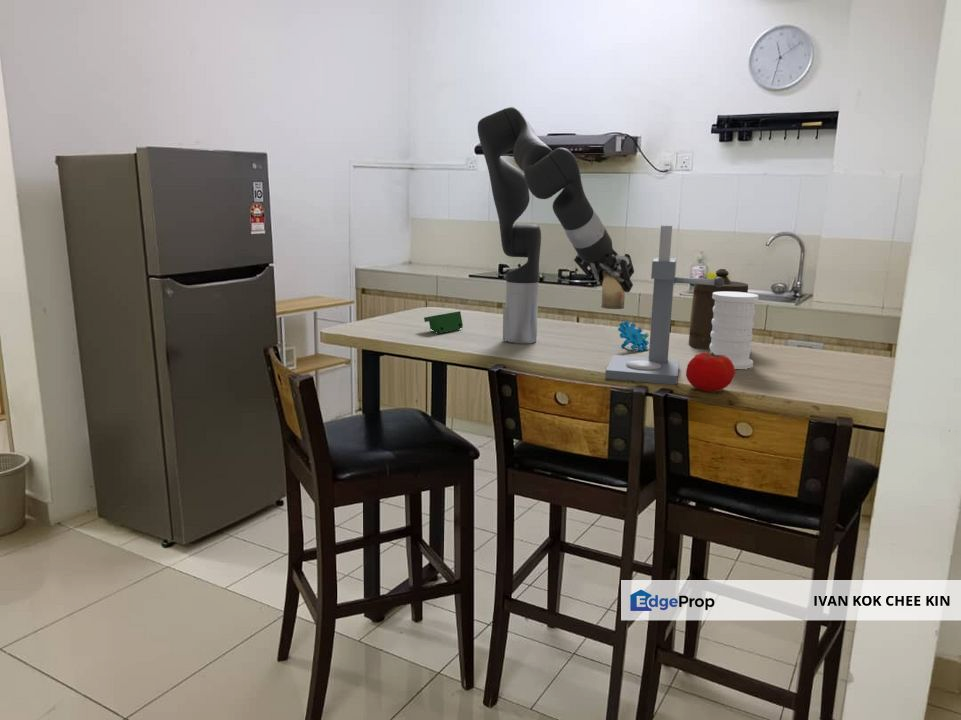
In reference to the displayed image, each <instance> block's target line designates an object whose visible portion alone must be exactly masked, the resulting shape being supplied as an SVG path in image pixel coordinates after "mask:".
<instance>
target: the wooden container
mask: <svg viewBox="0 0 961 720" xmlns="http://www.w3.org/2000/svg"><path fill="white" fill-rule="evenodd" d="M729 273H730V272H729V270H726V268H719V269H717V270H716V271H715V275H716V276H715V277H714V278H713V279H715V278H717V277H721V278H723V280H724V284H723V286H721V287H716V286H715V285H706V284H693V294H692V301H691V311H690V318H689V319H690V320H689V334H688V345H689V346H690V347H692V348H696V347H697V349H700V348H701V350H706V349H707V351H710V348H709V346H710V343H711V335H710V334H711V331H712V327H713V325H712V319H713V316H714V313H713V307H714V305H715V300H714V299H713V298H712V295H713V292H723V291H728V292H745V293H749V284H748V283H746V282H740V281H734V280H730V279H729V278H728V276H729V275H730V274H729Z"/></svg>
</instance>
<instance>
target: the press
mask: <svg viewBox="0 0 961 720" xmlns="http://www.w3.org/2000/svg"><path fill="white" fill-rule="evenodd" d="M672 233H673V225H670V224H669V225H668V224H661V225H660V234H659V249H658V257H655V258H653V260H652V263H651V273H650V275H651V277H650V279H652V280H653V290H652V306H651V318H650V319H651V320H650V335H649V345H648V346H649V350H648V357H644V356H643V357H641V356H628V355H618V354H617V355H613V357H612V358H611V360H610V362H609V364H608V365H607V367H606V369H605V377H604V378H605V379H608V380H620V381H630V382H631V381H632V382H641V383H644V382H645V383H655V384H665V385H677V384H676V383H678V377H677V376H678V375H679V371H678V370H679V369H680V359H669V351H670V348H669V347H670V335H671V322H672V309H673V296H674V295H673V294H674V285H675V284H686V285H687V284H688V285H689V284H690V285H694V284H706V285H715V286H716V287H721V286H723V284H724V280H723V278H721V277H717V278H715V277H714V278H715V279H714V278H705V277H704V278H703V277H702V278H700V277H682V276H681V277H680V276H679V277H678V276H676V271H677V269H676V267H677V258H675V257H671V247H672V237H673V234H672Z"/></svg>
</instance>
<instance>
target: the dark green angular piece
mask: <svg viewBox="0 0 961 720" xmlns="http://www.w3.org/2000/svg"><path fill="white" fill-rule="evenodd" d="M423 319H424V323H427V322H428V323H429V328H430V330H431V329H432V330H434V331H433V332H434V333H435V332H437V333H440V334H443V333H442V332H445V333H448V332H447V331H450V332H452V331H451V330H455V331H457V330H456V329H460V328H462V329H463V325H464V324H463V323H464V322H463V317H462V314H461V311H460V310H459V311H453V312H448V313H441V314H436V315H431V316H425V317H423ZM460 330H461V329H460Z"/></svg>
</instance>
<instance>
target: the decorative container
mask: <svg viewBox="0 0 961 720" xmlns="http://www.w3.org/2000/svg"><path fill="white" fill-rule="evenodd" d="M712 298H713V299H714V300H715V305H714V307H713V313H714V316H713V319H712V325H713V327H712V331H711V334H710V335H711V343H710V346H709V348H710V350H709V351H710V352H709V353H712V352H713V353H714V354H715V355H724V356H726V357H728V358H729V359H730V360H731V361H732V363H733V365H734V369H745V370H748V369H747V368H750V369H752V368H753V367H754V361H753V360H752V359H751V358H750V356H751V355H750V354H751V352H752V345H751V344H752V340H753V338H754V336H753V335H754V334H753V328H754V326H755V323H754V322H755V321H754V317H755V314H756V308H755V305H756V302H758V301H759V294H756V293H752V292H747V293H745V292H728V291H723V292H713V295H712ZM751 367H752V368H751Z"/></svg>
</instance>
